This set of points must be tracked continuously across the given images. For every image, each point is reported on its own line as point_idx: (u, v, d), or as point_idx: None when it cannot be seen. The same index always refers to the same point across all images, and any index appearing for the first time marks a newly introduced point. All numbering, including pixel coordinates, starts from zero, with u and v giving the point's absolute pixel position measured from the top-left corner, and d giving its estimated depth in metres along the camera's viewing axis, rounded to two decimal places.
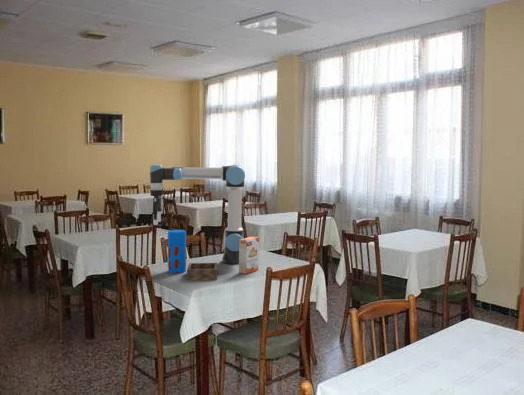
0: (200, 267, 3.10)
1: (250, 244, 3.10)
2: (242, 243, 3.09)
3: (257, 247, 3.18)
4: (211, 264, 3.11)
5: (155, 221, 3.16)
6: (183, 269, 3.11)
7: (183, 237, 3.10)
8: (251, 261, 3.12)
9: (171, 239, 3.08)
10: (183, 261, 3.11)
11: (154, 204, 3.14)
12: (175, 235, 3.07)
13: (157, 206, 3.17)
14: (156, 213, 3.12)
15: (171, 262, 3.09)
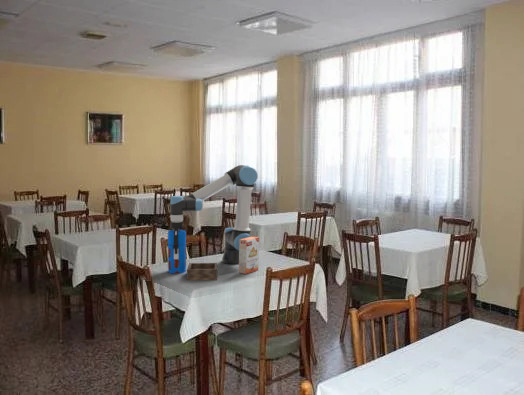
0: (200, 267, 3.10)
1: (250, 244, 3.10)
2: (242, 243, 3.09)
3: (257, 247, 3.18)
4: (211, 264, 3.11)
5: (176, 255, 3.07)
6: (183, 269, 3.11)
7: (183, 237, 3.10)
8: (251, 261, 3.12)
9: (171, 239, 3.08)
10: (183, 261, 3.11)
11: (175, 237, 3.05)
12: None
13: None
14: (177, 247, 3.04)
15: (171, 262, 3.09)
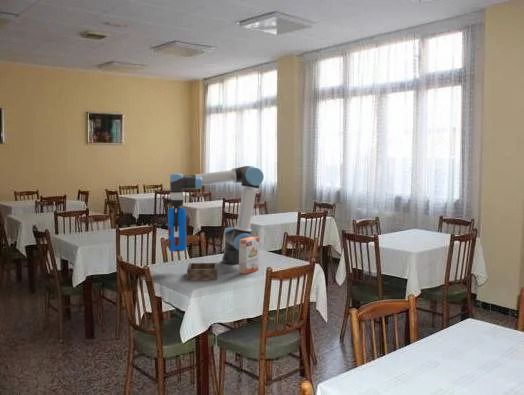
0: (200, 267, 3.10)
1: (250, 244, 3.10)
2: (242, 243, 3.09)
3: (257, 247, 3.18)
4: (211, 264, 3.11)
5: (176, 233, 3.06)
6: (183, 247, 3.10)
7: (183, 215, 3.08)
8: (251, 261, 3.12)
9: (171, 217, 3.07)
10: (183, 239, 3.10)
11: (175, 215, 3.04)
12: None
13: None
14: (177, 225, 3.03)
15: (171, 240, 3.08)
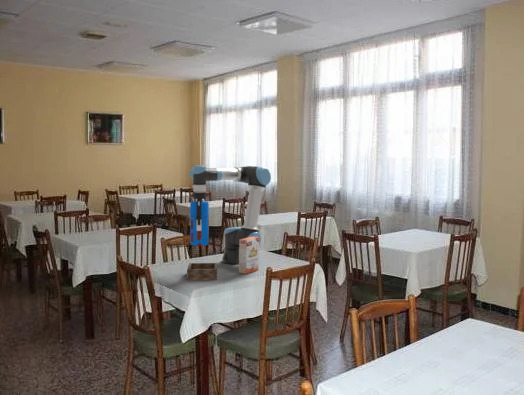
0: (200, 267, 3.10)
1: (250, 244, 3.10)
2: (242, 243, 3.09)
3: (257, 247, 3.18)
4: (211, 264, 3.11)
5: (198, 227, 2.96)
6: (206, 241, 3.00)
7: (206, 208, 2.98)
8: (251, 261, 3.12)
9: (194, 210, 2.96)
10: (206, 233, 2.99)
11: (198, 208, 2.94)
12: None
13: None
14: (200, 218, 2.93)
15: (193, 234, 2.98)
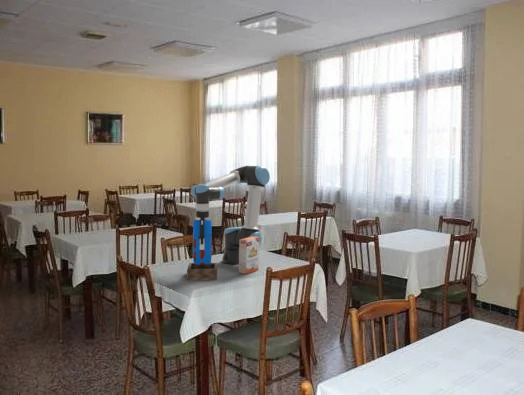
0: (200, 267, 3.10)
1: (250, 244, 3.10)
2: (242, 243, 3.09)
3: (257, 247, 3.18)
4: (211, 264, 3.11)
5: (202, 246, 2.96)
6: (209, 260, 3.00)
7: (209, 227, 2.98)
8: (251, 261, 3.12)
9: (197, 229, 2.96)
10: (209, 252, 2.99)
11: (201, 227, 2.94)
12: None
13: None
14: (203, 237, 2.93)
15: (196, 253, 2.98)
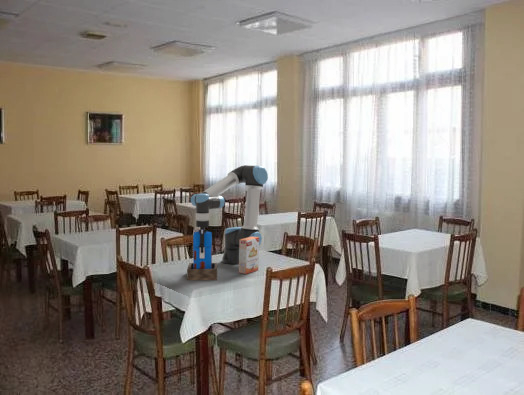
0: None
1: (250, 244, 3.10)
2: (242, 243, 3.09)
3: (257, 247, 3.18)
4: None
5: (202, 254, 2.95)
6: None
7: (209, 239, 2.99)
8: (251, 261, 3.12)
9: (197, 241, 2.97)
10: (209, 264, 3.00)
11: (201, 236, 2.94)
12: None
13: None
14: (203, 246, 2.92)
15: (197, 265, 2.99)
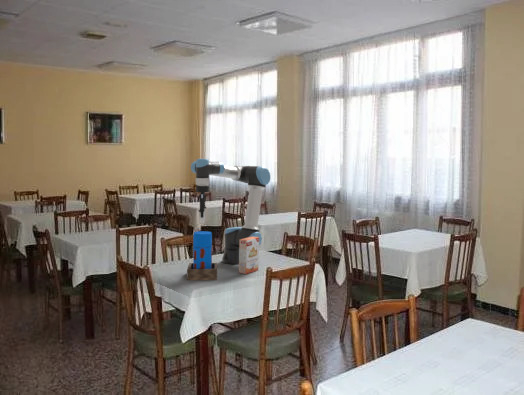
0: None
1: (250, 244, 3.10)
2: (242, 243, 3.09)
3: (257, 247, 3.18)
4: None
5: (202, 219, 2.93)
6: None
7: (209, 239, 2.99)
8: (251, 261, 3.12)
9: (197, 241, 2.97)
10: (209, 264, 3.00)
11: (201, 200, 2.92)
12: (201, 236, 2.96)
13: (204, 203, 2.95)
14: (203, 210, 2.90)
15: (197, 265, 2.99)
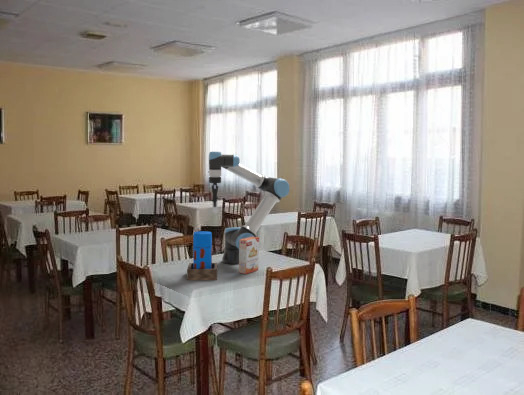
0: None
1: (250, 244, 3.10)
2: (242, 243, 3.09)
3: (257, 247, 3.18)
4: None
5: (214, 208, 3.11)
6: None
7: (209, 239, 2.99)
8: (251, 261, 3.12)
9: (197, 241, 2.97)
10: (209, 264, 3.00)
11: (214, 191, 3.10)
12: (201, 236, 2.96)
13: (216, 193, 3.13)
14: (216, 200, 3.08)
15: (197, 265, 2.99)
